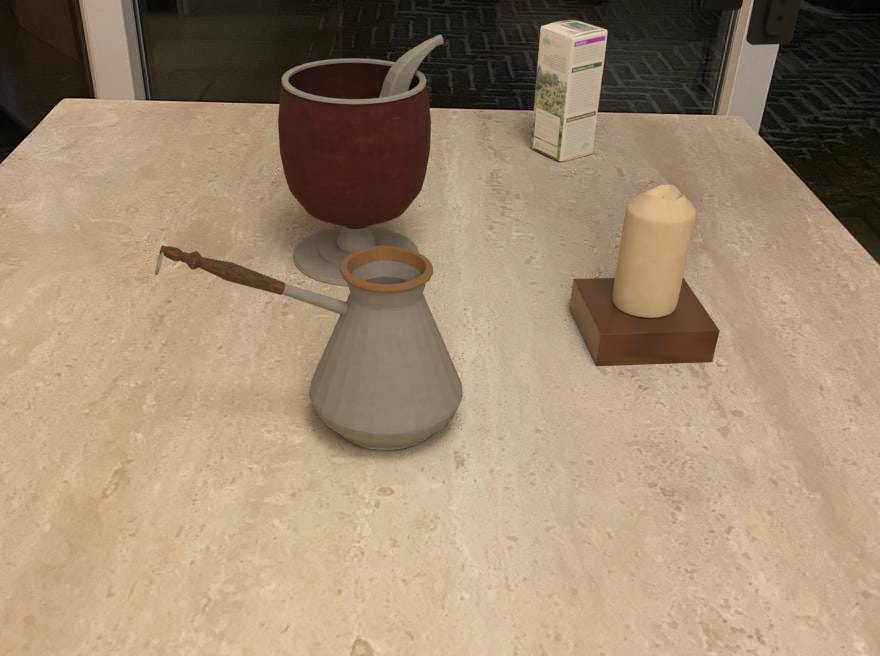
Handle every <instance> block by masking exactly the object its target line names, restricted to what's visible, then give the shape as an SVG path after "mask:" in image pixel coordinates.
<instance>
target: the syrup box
mask: <svg viewBox="0 0 880 656" xmlns="http://www.w3.org/2000/svg"><path fill="white" fill-rule="evenodd" d="M539 30H540V31H539V32H540V33H539V40H538V41H539V42H538V43H539V44H538V54H537V65H536V67H537V68H536V78H535V79H536V80H535V88H534V89H535V90H534V102H533V111H532V112H533V114H532V126H531V137H530V149H531V148H532V149H531V150H533V151H536V152H538V153H540V154H542V155H545V156H546V157H549V158H551V159H553V160H555V161H557V162H566V161H571V160H575V159H579V158H583V157H587V156H589V155H593V152H594V147H595V138H596V128H597V120H598V112H599V105H600V97H601V88H602V80H603V74H604V65H605V58H606V51H607V50H606V49H607V41H608V33H609V32H608V29H605V28H603V27H599V26H596V25H593V24H589V23H586V22H584V21H580V20H578V19H564V20H559V21H554V22H551V23H548V24H545V25H541V26H540V29H539Z"/></svg>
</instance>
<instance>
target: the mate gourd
mask: <svg viewBox="0 0 880 656" xmlns="http://www.w3.org/2000/svg"><path fill="white" fill-rule="evenodd" d="M441 45H444V37H443V35H442V34H438V35H435V36H434V37H432V38H429V39H427V40H425V41H423V42H421V43H419V44H418V45H416V46H415V47H413V48H411V49H410V50H408V51H406V52H405V53H404V54H403V55H401V56H400V57H399V58H397V60H396V61H389V60H383V59H374V58H358V57H357V58H356V57H355V58H352V57H351V58H332V59H323V60H316V61H312V62H307V63H303V64H300V65H297V66H295V67H292V68H290V69H289V70H287V71H285V72H284V74H283V75H282V77H281V88H280V95H279V101H278V102H279V105H278V113H277V114H278V115H277V127H278V129H277V130H278V145H279V154H280V159H281V164H282V168H283V169H282V170H283V174H284V177H285V180H286V184H287V187H288V190H289V192H290V193H291V195H292V196H293V197H294V198H295V200H296V201H297V202H298V204H299V205H300V206H301V207H302V208H303V209H304V210H305V212H306V213H307V214H308V215H310V216H311V217H312V218H314V219H316V220H318V221H321V222H323V223H329V224H333V225H337V227H331V228H326V229H322V230H319V231H316V232H313V233H312V234H309V235H307V236H306V237H304V238H302V239H301V240H300V241H298V243H297V244H296V245H295V247H294V250H293V258H294V264H295V266H296V268H297V269H298V270H299V271H300V272H301V273H302V274H304V275H306V276H307V277H309V278H310V279H314V280H316V281H318V282H322V283H326V284H329V285H334V286H335V285H336V286H342V287H348V283H347V282H346V281H345V280H344V279H343V277H342V275H341V273H340V265H341V263H342V262H343V260H344V259H345V258H346V257H348V256H349V255H351V254H353V253H355V252H358V251H360V250H363V249H367V248H370V247H375V246H380V245H385V246H393V247H398V248H404V249H408V250H411V251H415V252H417V253H419V249H418V246H417V244H415V242H414V240H412V239H411V238H409V237H407V236H406V235H404V234H402V233H399V232H397V231H394V230H391V229H386V228H383V227H377V226H376V225H380V224H384V223H388V222H390V221H393V220H395V219H397V218H399V217H400V216H402V215H403V214H404V213H405V212H406V211H407V209H408V208H409V207H410V206H411V204H412V203H413V202H414V201H415V200H416V199H417V197H418V196H419V194H420V193H421V192H422V190H423V186H424V182H425V179H426V175H427V170H428V165H429V164H428V163H429V159H430V153H431V142H432V141H431V137H432V136H431V135H432V117H431V107H430V99H429V94H428V89H427V77H426V76H425V74H424V73H423V72H421V70H419V69H418V68H419V67H420V65H421V63H422V62H423V60H425V58H426V57H427V56H428V55H429V54H430V53H431V52H432V51H433V50H434V49H435V48H436V47H439V46H441ZM374 225H375V226H374ZM419 254H420V253H419Z"/></svg>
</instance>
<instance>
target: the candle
mask: <svg viewBox="0 0 880 656" xmlns="http://www.w3.org/2000/svg"><path fill="white" fill-rule="evenodd" d="M624 213H625V214H624V219H623V224H622V232H621V237H620V243H619V250H618V257H617V262H616V269H615V275H614V278H615V281H614V287H613V295H612V301H613V303H614V305H615V306H616V307H617V308H618V309H620V310H621V311H623V312H625V313H628V314H631V315H634V316H639V317H647V318H654V317H662V316H666V315H669V314H671V313H672V312H673V311H674V310H675V309H676V306H677V303H678V299H679V294H680V289H681V284H682V279H683V278H684V273H685V270H686V269H685V268H686V263H687V260H688V254H689V250H690V244H691V240H692V236H693V229H694V225H695V220H696V215H697V210H696V208H695V206H694V204H693V203H692V202H691V201H690V200H689V199H688V198H687V197H686V196H685V194H683V193H682V192H681V191H680V190H679V189H678V188H677V186H676V185H674V184H672V183H671V184H668V183H667V184H662V185H657V186H655V187H654V188H652V189H649V190H646V191H643V192H640V193H638V194H636V195H635V196H633V197H632V198H631V199H629V200H628V201H627V203H626V207H625V211H624Z"/></svg>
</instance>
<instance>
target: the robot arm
mask: <svg viewBox="0 0 880 656" xmlns="http://www.w3.org/2000/svg"><path fill="white" fill-rule="evenodd" d="M801 3H802V0H753V1H752V6H751V11H750V17H749V22H748V26H747V31H746V37H745V41H746V42H747V43H748V44H750V45H751V46H764V45H765V46H766V45H767V46H768V45H769V46H770V45H787V44H790V43H791V42H792V40H793V38H794V34H795V33H794V32H795V29H796V25H797V21H798V15H799V12H800V7H801ZM743 5H744V0H701V1H700V8H701V10H704V11H705V12H713V11H714V12H715V11H716V12H717V11H718V12H720V11H721V12H722V11H723V12H724V11H739V10H740V9H742V7H743Z"/></svg>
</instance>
